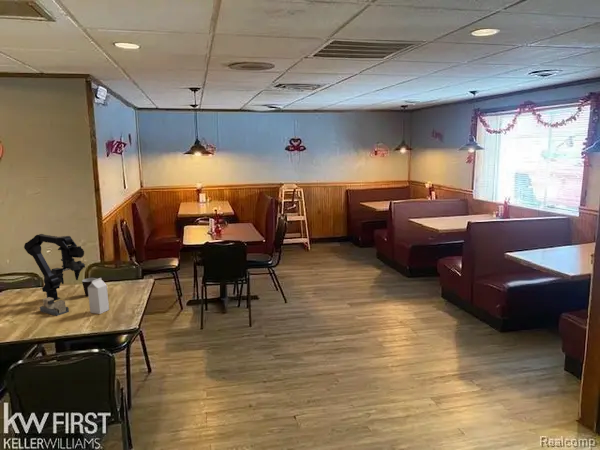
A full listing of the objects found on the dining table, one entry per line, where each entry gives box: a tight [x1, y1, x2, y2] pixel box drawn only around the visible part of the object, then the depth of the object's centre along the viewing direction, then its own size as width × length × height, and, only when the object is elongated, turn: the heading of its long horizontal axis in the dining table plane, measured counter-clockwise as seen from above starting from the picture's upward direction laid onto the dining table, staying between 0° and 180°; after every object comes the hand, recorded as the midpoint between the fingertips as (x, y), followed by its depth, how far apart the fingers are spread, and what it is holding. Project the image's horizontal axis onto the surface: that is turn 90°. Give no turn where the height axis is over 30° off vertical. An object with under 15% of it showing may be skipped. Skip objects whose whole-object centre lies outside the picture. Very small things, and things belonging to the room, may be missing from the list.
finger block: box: [42, 297, 55, 309], centre depth 265 cm, size 5×4×6 cm
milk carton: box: [88, 277, 110, 315], centre depth 260 cm, size 7×7×19 cm
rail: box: [39, 299, 70, 317], centre depth 263 cm, size 16×7×7 cm, turn 60°
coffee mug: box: [81, 277, 97, 298], centre depth 294 cm, size 12×9×10 cm
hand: (70, 281), depth 280 cm, fingers open, 9 cm apart
